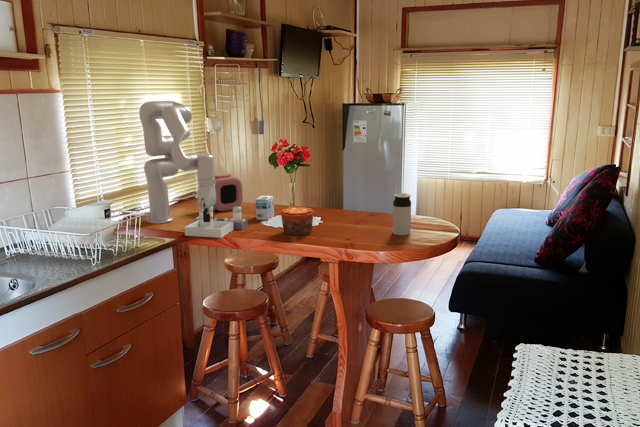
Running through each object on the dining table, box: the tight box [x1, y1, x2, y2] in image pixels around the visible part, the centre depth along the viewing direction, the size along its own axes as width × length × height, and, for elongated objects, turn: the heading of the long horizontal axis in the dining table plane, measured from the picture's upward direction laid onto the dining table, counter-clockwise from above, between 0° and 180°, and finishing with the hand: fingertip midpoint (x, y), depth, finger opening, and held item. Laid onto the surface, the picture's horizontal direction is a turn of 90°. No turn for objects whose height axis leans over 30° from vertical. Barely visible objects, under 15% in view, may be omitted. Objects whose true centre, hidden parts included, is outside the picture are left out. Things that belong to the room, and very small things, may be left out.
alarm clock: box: [214, 173, 244, 213], centre depth 299 cm, size 18×11×19 cm, turn 132°
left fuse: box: [197, 206, 203, 220], centre depth 265 cm, size 4×4×10 cm
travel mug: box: [392, 192, 412, 236], centre depth 245 cm, size 8×8×18 cm
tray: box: [183, 220, 235, 239], centre depth 252 cm, size 18×14×4 cm
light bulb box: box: [255, 195, 275, 221], centre depth 279 cm, size 11×7×11 cm, turn 168°
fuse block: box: [193, 216, 248, 230], centre depth 263 cm, size 25×7×4 cm, turn 76°
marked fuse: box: [204, 206, 214, 228], centre depth 250 cm, size 4×4×10 cm
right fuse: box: [232, 206, 243, 223], centre depth 260 cm, size 4×4×10 cm
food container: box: [279, 206, 315, 237], centre depth 250 cm, size 16×16×11 cm
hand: (209, 220), depth 251 cm, fingers closed on marked fuse, 3 cm apart
